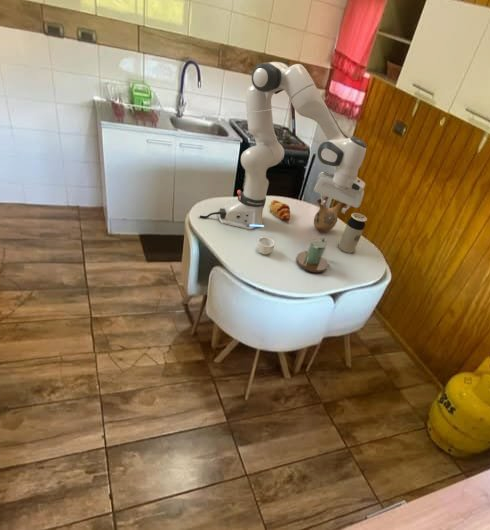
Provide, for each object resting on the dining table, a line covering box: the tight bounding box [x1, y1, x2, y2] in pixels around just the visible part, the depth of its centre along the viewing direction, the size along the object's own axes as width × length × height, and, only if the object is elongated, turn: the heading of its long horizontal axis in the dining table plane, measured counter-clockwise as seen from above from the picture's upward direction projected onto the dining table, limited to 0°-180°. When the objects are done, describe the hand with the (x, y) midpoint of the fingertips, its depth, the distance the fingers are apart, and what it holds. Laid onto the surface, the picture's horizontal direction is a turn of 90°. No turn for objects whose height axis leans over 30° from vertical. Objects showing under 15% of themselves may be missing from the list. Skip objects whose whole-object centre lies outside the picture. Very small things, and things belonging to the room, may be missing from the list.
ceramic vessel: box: [313, 196, 347, 233], centre depth 190 cm, size 16×9×25 cm, turn 104°
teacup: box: [256, 236, 276, 255], centre depth 170 cm, size 10×8×5 cm
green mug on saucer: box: [295, 237, 329, 273], centre depth 165 cm, size 15×14×10 cm
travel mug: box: [337, 212, 368, 254], centre depth 181 cm, size 8×8×18 cm
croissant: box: [269, 199, 291, 222], centre depth 202 cm, size 21×10×8 cm, turn 19°
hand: (332, 208), depth 162 cm, fingers open, 8 cm apart
